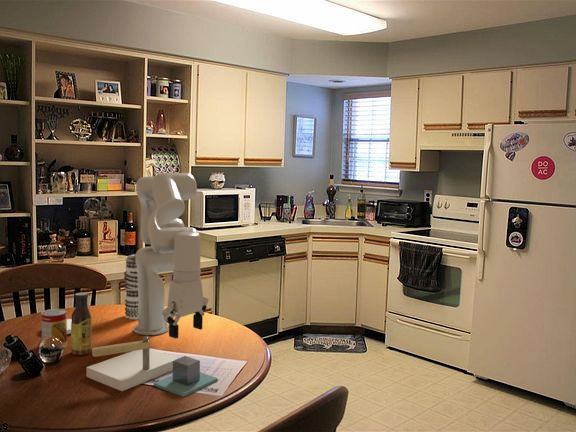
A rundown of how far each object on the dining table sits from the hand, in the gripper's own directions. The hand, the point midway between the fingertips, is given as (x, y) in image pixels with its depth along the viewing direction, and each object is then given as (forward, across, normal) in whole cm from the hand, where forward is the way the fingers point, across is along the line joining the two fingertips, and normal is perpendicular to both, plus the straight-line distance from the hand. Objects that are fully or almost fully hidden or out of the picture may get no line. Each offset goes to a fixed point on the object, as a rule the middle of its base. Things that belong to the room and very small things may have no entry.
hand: (185, 332), depth 163 cm
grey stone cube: (+14, 0, +1) cm, 14 cm away
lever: (+6, +12, -14) cm, 19 cm away
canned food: (+16, +6, -55) cm, 58 cm away
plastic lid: (+17, -5, -67) cm, 70 cm away
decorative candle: (+17, -33, -61) cm, 72 cm away
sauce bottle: (+16, +4, -43) cm, 46 cm away
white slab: (+15, +4, -17) cm, 23 cm away
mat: (+15, 0, +1) cm, 15 cm away
